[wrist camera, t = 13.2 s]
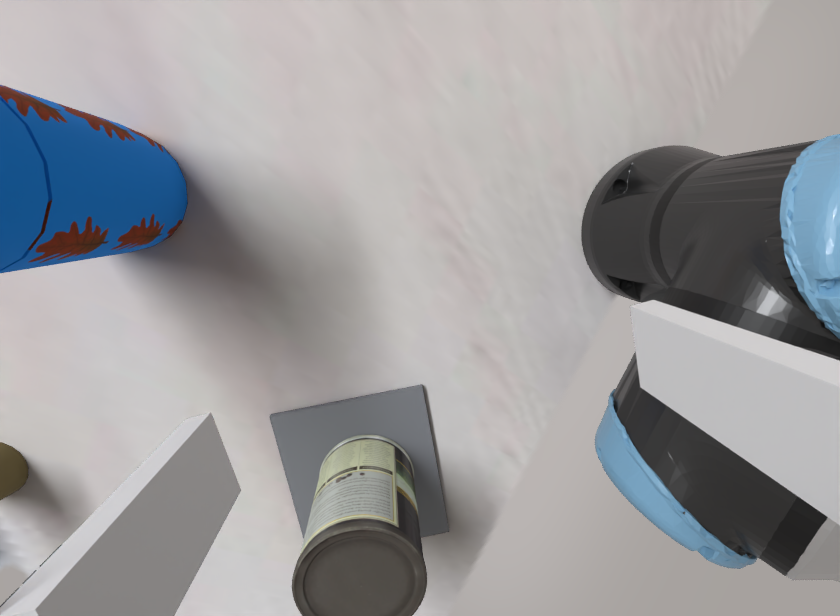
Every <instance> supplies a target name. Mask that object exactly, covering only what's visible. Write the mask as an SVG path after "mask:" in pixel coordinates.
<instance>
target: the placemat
mask: <svg viewBox="0 0 840 616" xmlns="http://www.w3.org/2000/svg"><path fill="white" fill-rule="evenodd" d="M270 420H271V424H272V428H273V431H274V435H275V438H276V442H277V445H278V449H279V453H280V456H281V460H282V463H283V467H284V470H285V474H286V478H287V481H288V485H289V488H290V492H291V495H292V499H293V503H294V506H295V510H296V513H297V517H298V520H299V524H300V528H301V531H302V535H303V538H304V537H305V533H306V529H307V525H308V521H309V517H310V512H311V508H312V505H313V501H314V496H315V492H316V488H317V484H318V480H319V473H320V468H321V465H322V463H323V461H324V459H325V457H326V455H327V454H328V453H329V452H330V451H331V450H332V449H333V448H334V447H335V446H336V445H337V444H339V443H340V442H342V441H344V440H346V439H348V438H351V437H354V436H357V435H378V436H382V437H385V438H388V439H390V440H392V441H394V442H395V443H397V444H398V445H399V446H401V447H402V448H403V449H404V450H405V452H406V453H407V454H408V456H409V458H410V460H411V462H412V465H413V469H414V484H415V492H416V501H417V509H418V518H419V527H420V535H421V537H426V536H431V535H435V534H440V533H445V532H449V527H448V522H447V516H446V511H445V506H444V500H443V495H442V490H441V484H440V479H439V473H438V468H437V463H436V457H435V452H434V447H433V441H432V436H431V430H430V425H429V420H428V414H427V409H426V404H425V398H424V393H423V387H422V385H417V386H412V387H407V388H402V389H397V390H392V391H387V392H382V393H377V394H371V395H366V396H361V397H356V398H351V399H346V400H341V401H336V402H331V403H326V404H321V405H316V406H311V407H305V408H300V409H295V410H290V411H285V412H280V413H275V414H271V415H270Z"/></svg>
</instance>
